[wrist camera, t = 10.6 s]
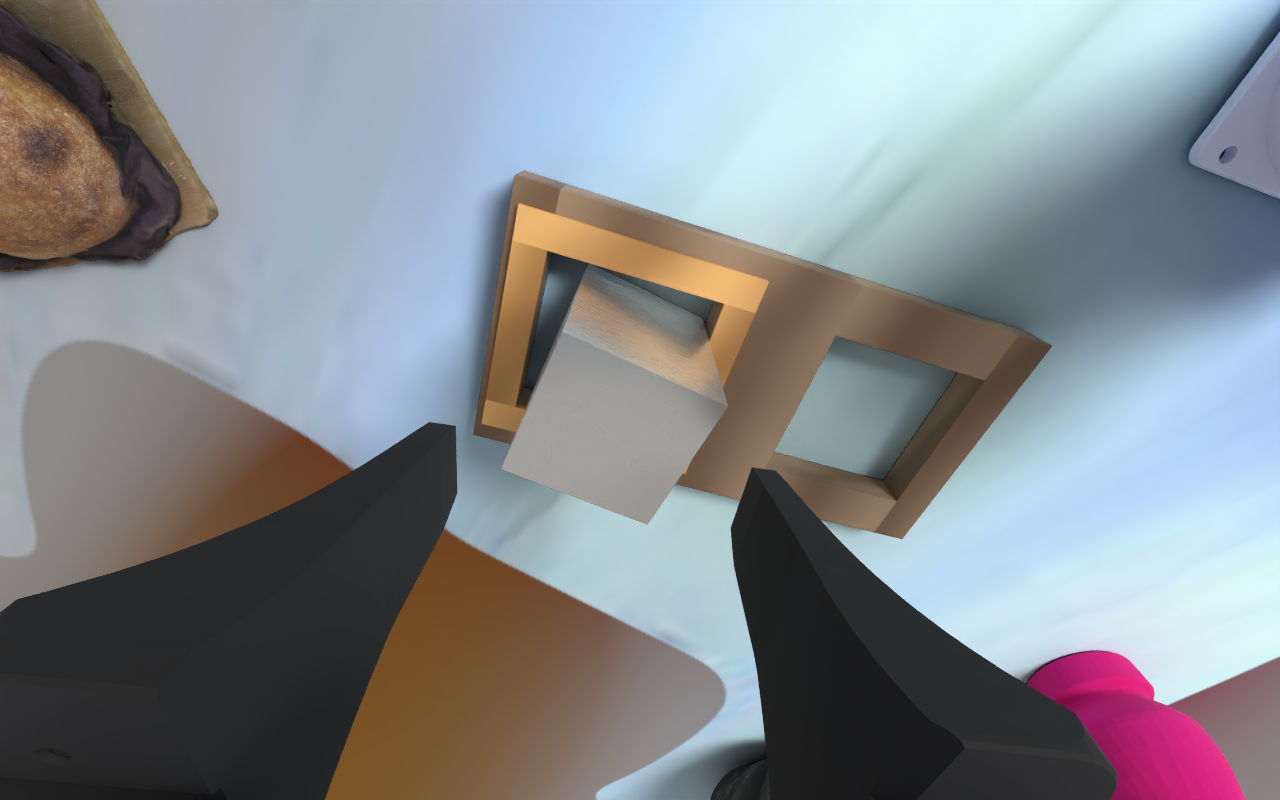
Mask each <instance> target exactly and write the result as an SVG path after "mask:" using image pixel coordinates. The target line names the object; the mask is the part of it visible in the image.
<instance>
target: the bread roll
mask: <svg viewBox="0 0 1280 800" xmlns="http://www.w3.org/2000/svg"><path fill="white" fill-rule="evenodd" d="M217 216H218V210H217V207H216V205H215V204H214V201H213V198H212V197H211V195H210V194H209V192H208V190H207V189H206V188H205V186H204V185H203V184H202V183H201V181H200V179H199V176H198V175H197V173H196V172H195V170H194V168H193V167H192V164H191V162H190V160H189V159H188V157H187V156H186V155H185V153H184V151H183V150H182V148H181V146H180V144H179V143H178V141H177V139H176V138H175V136H174V134H173V132H172V131H171V129H170V127H169V125H168V123H167V120H166V119H165V117H164V116H163V114H162V113H161V112H160V110H159V109H158V107H157V106H156V104H155V102H154V100H153V99H152V98H151V96H150V94H149V92H148V90H147V88H146V86H145V84H144V83H143V81H142V80H141V78H140V76H139V74H138V73H137V71H136V69H135V68H134V66H133V65H132V63H131V61H130V59H129V57H128V56H127V54H126V52H125V51H124V49H123V47H122V46H121V44H120V42H119V41H118V39H117V37H116V35H115V34H114V32H113V30H112V28H111V27H110V25H109V23H108V22H107V20H106V19H105V17H104V16H103V14H102V12H101V10H100V9H99V7H98V6H97V4H96V2H95V0H0V271H3V272H12V271H29V270H33V269H39V268H45V269H48V268H50V267H56V266H69V265H73V264H77V263H79V262H81V261H93V260H94V261H96V260H98V259H100V260H109V261H114V262H119V261H125V260H130V259H133V260H143V259H145V257H147V256H148V255H150V254H151V253H152V252H154V250H155V249H156V248H157V247H160V246H162V245H163V244H164V243H165V242H166V241H168V240H172V238H173V237H174V236H175V235H178V234H182V233H183V232H185V231H187V230H189V229H192V228H194V227H198V226H199V227H201V226H204V225H208V224H210V223H211V222H212V221H213V220H214V219H216V218H217Z"/></svg>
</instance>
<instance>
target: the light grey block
mask: <svg viewBox="0 0 1280 800" xmlns="http://www.w3.org/2000/svg"><path fill="white" fill-rule="evenodd" d="M727 407H728V404H727V401H726V398H725V394H724V391H723V387H722V384H721V380H720V377H719V373H718V370H717V366H716V363H715V359H714V356H713V352H712V349H711V345H710V342H709V338H708V335H707V331H706V328H705V324H704V321H703V318H701V317H699V316H697V315H695V314H693V313H691V312H689V311H687V310H685V309H682V308H680V307H678V306H676V305H674V304H672V303H670V302H668V301H666V300H664V299H662V298H660V297H658V296H656V295H654V294H652V293H650V292H648V291H646V290H644V289H642V288H640V287H638V286H636V285H634V284H631V283H629V282H627V281H625V280H623V279H621V278H619V277H617V276H615V275H613V274H611V273H609V272H607V271H605V270H603V269H601V268H599V267H597V266H595V265H593V264H590V263H589V264H588V266H587V268H586V270H585V273H584V275H583V277H582V279H581V282H580V284H579V286H578V288H577V291H576V293H575V295H574V297H573V300H572V302H571V304H570V306H569V309H568V311H567V313H566V315H565V318H564V320H563V322H562V324H561V327H560V329H559V331H558V333H557V336H556V338H555V340H554V342H553V345H552V347H551V349H550V351H549V354H548V356H547V358H546V360H545V363H544V365H543V367H542V370H541V372H540V375H539V377H538V379H537V382H536V384H535V387H534V389H533V392H532V394H531V397H530V399H529V401H528V404H527V406H526V409H525V411H524V414H523V416H522V419H521V421H520V423H519V426H518V428H517V431H516V433H515V436H514V438H513V441H512V443H511V445H510V448H509V450H508V453H507V455H506V458H505V460H504V463H503V465H502V467H501V470H504V471H507V472H509V473H512V474H515V475H517V476H520V477H523V478H525V479H528V480H531V481H533V482H536V483H539V484H541V485H544V486H546V487H549V488H552V489H554V490H557V491H560V492H562V493H565V494H568V495H570V496H573V497H576V498H578V499H581V500H584V501H586V502H589V503H592V504H594V505H597V506H600V507H602V508H605V509H607V510H610V511H613V512H615V513H618V514H621V515H623V516H626V517H629V518H631V519H634V520H637V521H639V522H642V523H645V524H647V525H648V523H649V522H650V520H651V519H652V517H653V516H654V514H655V513H656V511H657V510H658V508H659V507H660V505H661V504H662V503H663V501H664V500H665V498H666V497H667V495H668V494H669V492H670V491H671V489H672V488H673V486H674V485H675V484H676V482H677V481H678V479H679V478H680V476H681V475H682V473H683V472H684V470H685V469H686V467H687V466H688V464H689V463H690V462H691V460H692V459H693V457H694V456H695V454H696V453H697V451H698V450H699V448H700V447H701V445H702V444H703V442H704V441H705V440H706V438H707V437H708V435H709V434H710V432H711V431H712V429H713V428H714V426H715V425H716V423H717V422H718V420H719V419H720V418H721V416H722V415H723V413H724V412H725V410H726V409H727Z"/></svg>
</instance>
